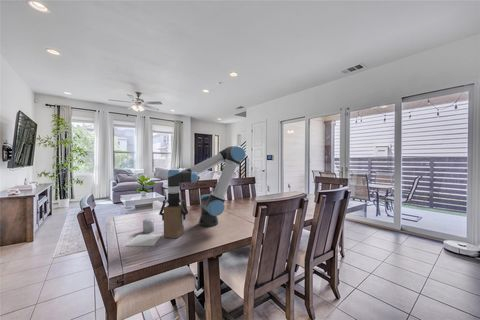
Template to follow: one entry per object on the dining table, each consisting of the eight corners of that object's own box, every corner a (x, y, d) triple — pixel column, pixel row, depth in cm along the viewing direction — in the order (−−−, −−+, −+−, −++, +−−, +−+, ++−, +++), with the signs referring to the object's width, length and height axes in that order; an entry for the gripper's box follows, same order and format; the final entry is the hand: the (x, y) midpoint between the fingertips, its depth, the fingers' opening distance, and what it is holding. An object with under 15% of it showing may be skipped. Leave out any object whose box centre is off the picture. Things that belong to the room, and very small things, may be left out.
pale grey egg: (155, 229, 148) (155, 218, 148) (151, 233, 141) (151, 221, 141) (145, 229, 148) (145, 218, 147) (141, 233, 141) (141, 221, 140)
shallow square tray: (162, 235, 137) (162, 233, 137) (154, 245, 121) (154, 244, 121) (137, 235, 136) (137, 234, 136) (126, 246, 120) (126, 244, 120)
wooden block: (177, 239, 131) (176, 208, 130) (163, 237, 133) (162, 207, 132) (184, 233, 141) (184, 204, 140) (171, 232, 143) (171, 203, 142)
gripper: (192, 191, 141) (192, 222, 141) (157, 191, 139) (157, 223, 139) (190, 193, 133) (190, 226, 134) (153, 193, 132) (153, 227, 132)
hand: (173, 224), depth 137 cm, fingers closed on wooden block, 11 cm apart
